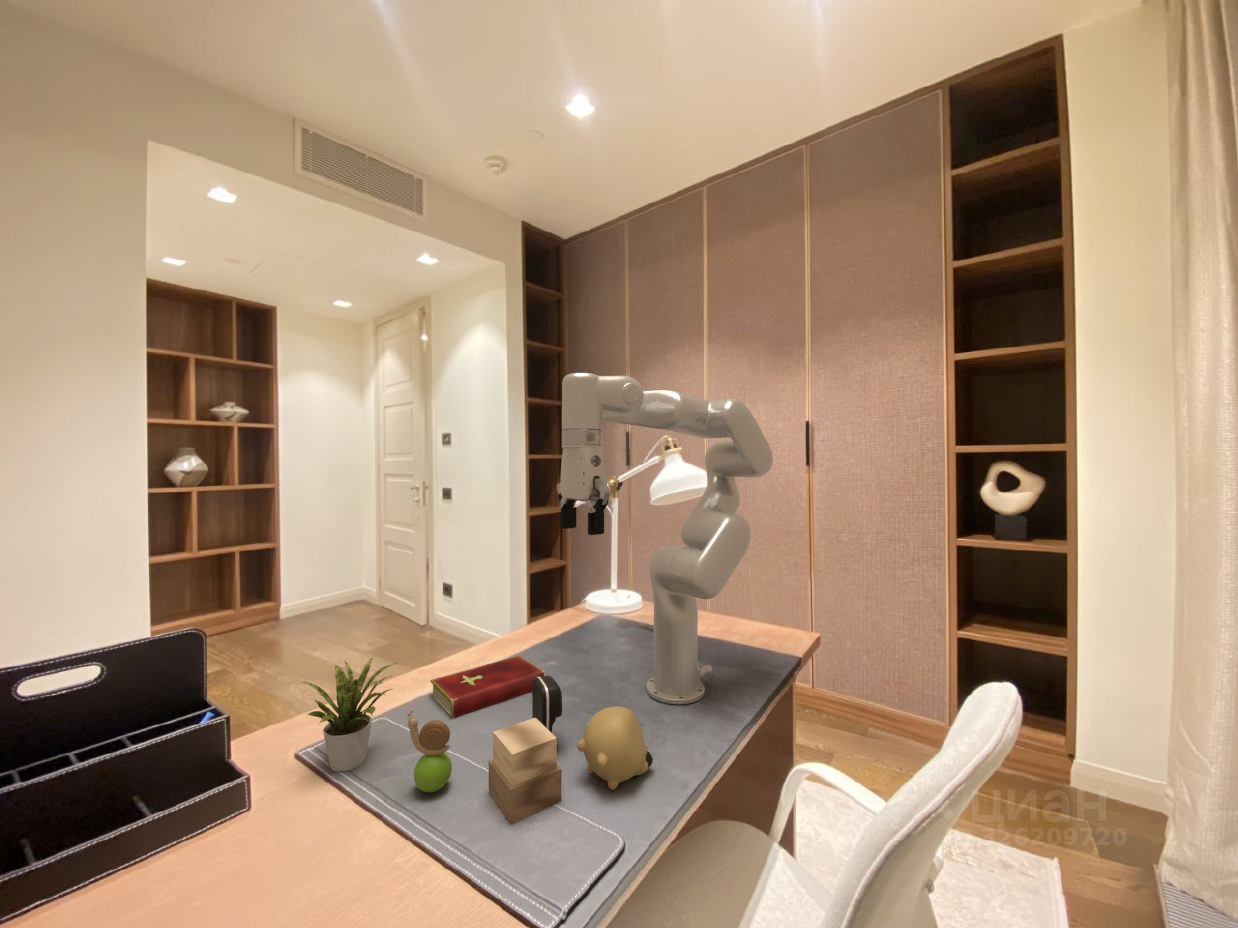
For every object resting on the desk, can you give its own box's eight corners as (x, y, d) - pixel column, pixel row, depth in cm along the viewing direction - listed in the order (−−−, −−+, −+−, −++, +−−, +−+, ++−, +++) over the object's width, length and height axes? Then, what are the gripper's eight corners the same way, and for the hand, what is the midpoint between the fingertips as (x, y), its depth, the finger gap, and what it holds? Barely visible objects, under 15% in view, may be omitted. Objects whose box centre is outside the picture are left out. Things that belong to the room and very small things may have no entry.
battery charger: (564, 752, 84) (564, 686, 84) (542, 758, 83) (542, 690, 82) (551, 732, 91) (552, 670, 90) (531, 737, 89) (531, 674, 89)
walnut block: (536, 774, 79) (536, 743, 79) (561, 802, 72) (561, 768, 72) (488, 793, 74) (488, 760, 74) (510, 826, 68) (510, 789, 68)
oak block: (535, 745, 78) (535, 717, 78) (556, 768, 72) (556, 737, 72) (492, 761, 74) (493, 731, 74) (512, 786, 68) (512, 754, 68)
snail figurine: (413, 778, 77) (414, 702, 77) (455, 776, 78) (455, 700, 78) (401, 802, 72) (401, 720, 72) (446, 799, 72) (446, 718, 72)
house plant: (421, 746, 86) (421, 653, 86) (354, 798, 73) (355, 688, 73) (358, 731, 90) (358, 643, 90) (285, 777, 77) (285, 674, 77)
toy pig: (636, 813, 75) (674, 748, 80) (596, 777, 69) (639, 710, 74) (597, 778, 82) (634, 721, 87) (558, 744, 77) (599, 684, 82)
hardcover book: (545, 689, 108) (545, 670, 108) (451, 721, 95) (451, 699, 95) (519, 671, 118) (519, 653, 118) (430, 698, 104) (430, 678, 104)
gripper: (625, 439, 88) (625, 535, 88) (575, 442, 102) (575, 524, 102) (589, 438, 83) (589, 539, 83) (542, 441, 97) (542, 527, 97)
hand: (581, 531), depth 93 cm, fingers open, 9 cm apart
